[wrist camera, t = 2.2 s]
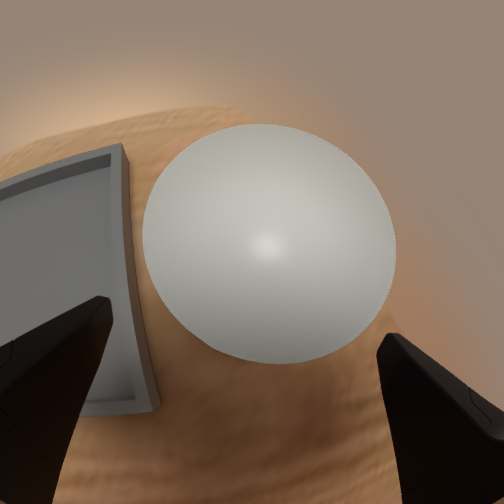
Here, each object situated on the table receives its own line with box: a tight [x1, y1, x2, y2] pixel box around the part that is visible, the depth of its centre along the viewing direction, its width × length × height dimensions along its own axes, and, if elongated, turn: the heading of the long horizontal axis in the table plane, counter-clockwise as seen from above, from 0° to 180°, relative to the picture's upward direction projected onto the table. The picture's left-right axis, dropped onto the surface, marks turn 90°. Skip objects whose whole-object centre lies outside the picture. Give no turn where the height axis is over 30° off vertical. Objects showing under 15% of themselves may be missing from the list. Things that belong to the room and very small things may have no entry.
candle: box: [142, 124, 396, 364], centre depth 12 cm, size 6×6×13 cm
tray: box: [0, 143, 161, 417], centre depth 15 cm, size 18×16×2 cm
